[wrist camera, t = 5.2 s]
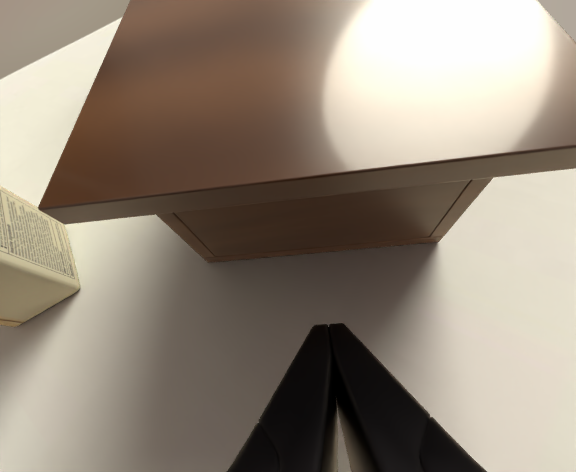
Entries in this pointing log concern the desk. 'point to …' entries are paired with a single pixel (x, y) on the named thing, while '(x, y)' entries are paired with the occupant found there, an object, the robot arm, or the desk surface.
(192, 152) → the lid
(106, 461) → the desk surface
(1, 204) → the cosmetic box
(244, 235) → the bin
